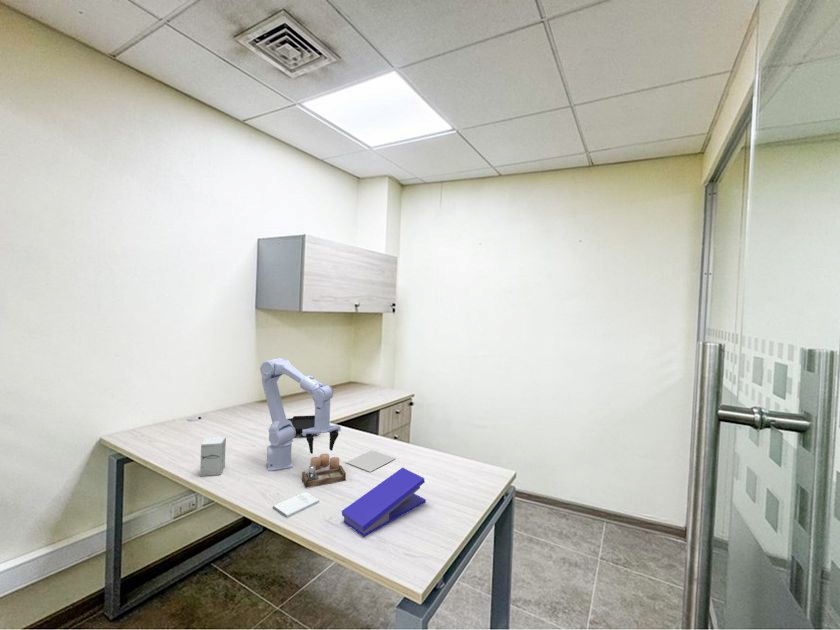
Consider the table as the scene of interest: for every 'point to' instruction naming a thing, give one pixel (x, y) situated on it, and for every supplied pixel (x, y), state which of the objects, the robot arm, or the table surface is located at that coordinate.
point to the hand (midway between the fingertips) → (321, 451)
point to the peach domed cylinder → (334, 463)
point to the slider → (312, 473)
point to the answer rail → (325, 477)
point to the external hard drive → (295, 504)
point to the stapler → (384, 502)
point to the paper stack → (370, 460)
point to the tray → (302, 423)
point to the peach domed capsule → (316, 462)
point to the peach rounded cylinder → (324, 460)
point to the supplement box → (212, 456)
